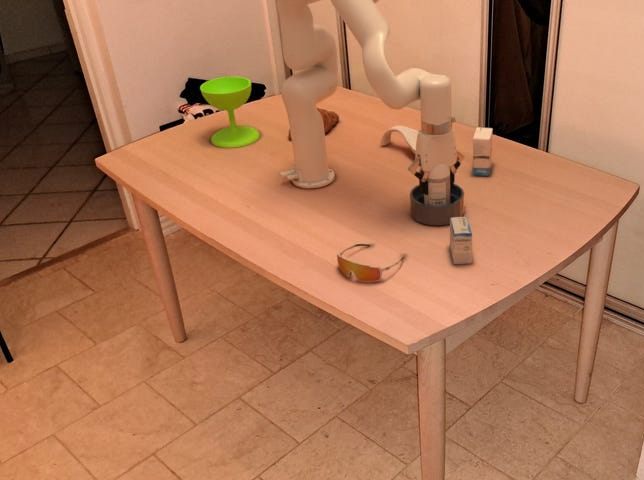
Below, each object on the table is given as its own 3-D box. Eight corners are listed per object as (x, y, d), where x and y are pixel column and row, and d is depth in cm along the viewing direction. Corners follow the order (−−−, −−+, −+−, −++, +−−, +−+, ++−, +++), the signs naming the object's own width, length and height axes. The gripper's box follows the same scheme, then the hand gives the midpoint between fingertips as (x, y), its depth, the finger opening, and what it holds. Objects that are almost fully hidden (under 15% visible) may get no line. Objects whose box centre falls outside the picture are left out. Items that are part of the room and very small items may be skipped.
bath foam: (454, 214, 188) (454, 144, 176) (431, 220, 185) (430, 150, 174) (442, 203, 193) (442, 135, 182) (420, 209, 191) (417, 140, 179)
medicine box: (449, 247, 175) (449, 217, 170) (467, 246, 175) (467, 215, 171) (453, 264, 169) (453, 234, 164) (472, 263, 169) (472, 232, 164)
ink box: (488, 176, 206) (490, 139, 199) (472, 175, 207) (472, 138, 200) (492, 164, 213) (493, 127, 206) (475, 163, 214) (476, 126, 207)
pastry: (334, 140, 231) (332, 116, 226) (287, 141, 231) (284, 117, 227) (339, 120, 245) (337, 97, 240) (295, 121, 245) (292, 98, 241)
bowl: (426, 231, 182) (425, 211, 178) (401, 208, 192) (401, 188, 189) (473, 218, 187) (474, 198, 183) (447, 195, 197) (447, 176, 194)
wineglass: (201, 143, 231) (189, 90, 221) (229, 125, 244) (219, 74, 233) (242, 150, 226) (232, 96, 216) (268, 131, 238) (260, 79, 228)
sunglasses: (327, 272, 167) (326, 253, 165) (363, 250, 179) (364, 232, 177) (376, 289, 161) (376, 270, 159) (411, 265, 173) (412, 247, 170)
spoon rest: (456, 154, 220) (456, 132, 215) (435, 168, 212) (435, 146, 208) (394, 138, 231) (393, 117, 227) (373, 151, 223) (371, 129, 219)
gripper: (458, 113, 181) (458, 176, 191) (398, 127, 175) (401, 191, 185) (474, 123, 176) (472, 187, 186) (411, 138, 169) (414, 203, 179)
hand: (437, 188), depth 185 cm, fingers closed on bath foam, 6 cm apart
